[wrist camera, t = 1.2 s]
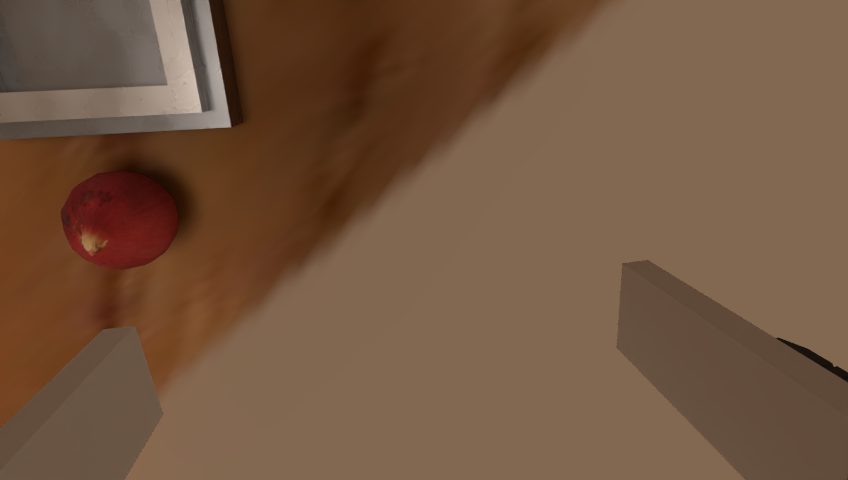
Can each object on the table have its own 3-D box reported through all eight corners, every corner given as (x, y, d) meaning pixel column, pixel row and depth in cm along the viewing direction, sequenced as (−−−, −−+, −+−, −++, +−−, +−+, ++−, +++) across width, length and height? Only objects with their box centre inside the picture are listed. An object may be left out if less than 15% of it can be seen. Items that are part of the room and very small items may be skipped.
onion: (87, 215, 31) (0, 259, 24) (125, 143, 30) (47, 166, 22) (171, 258, 33) (115, 312, 25) (210, 192, 32) (163, 228, 24)
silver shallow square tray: (-80, -138, 24) (-172, -183, 20) (199, -136, 26) (168, -178, 21) (12, 134, 29) (-48, 144, 25) (243, 122, 30) (224, 129, 26)
